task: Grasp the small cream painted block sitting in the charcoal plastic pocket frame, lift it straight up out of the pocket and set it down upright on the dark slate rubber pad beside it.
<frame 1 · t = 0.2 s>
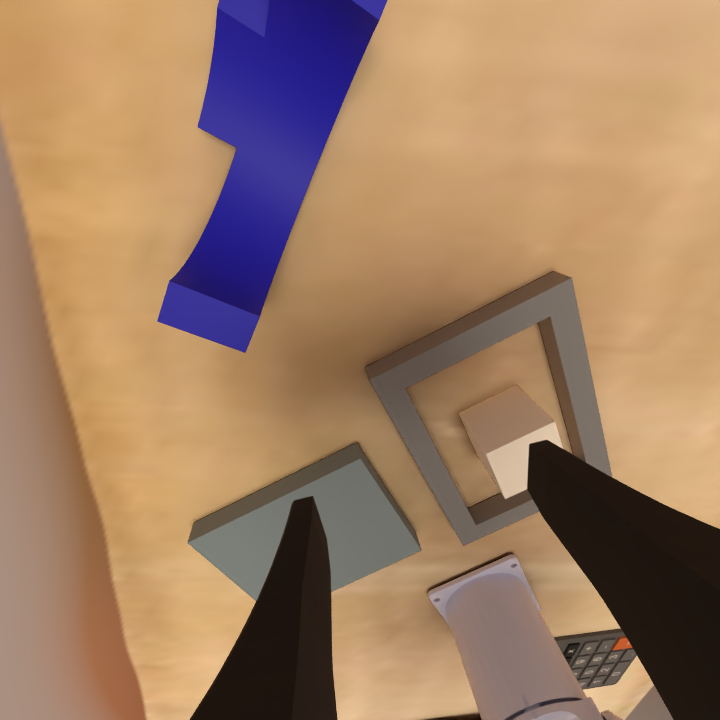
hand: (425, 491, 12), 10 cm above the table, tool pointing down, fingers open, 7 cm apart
slate pad: (312, 527, 26), on the table
calculator: (571, 656, 42), on the table
cream block: (495, 420, 24), resting in pocket frame
pocket frame: (496, 421, 24), on the table
cable clip: (259, 159, 16), on the table
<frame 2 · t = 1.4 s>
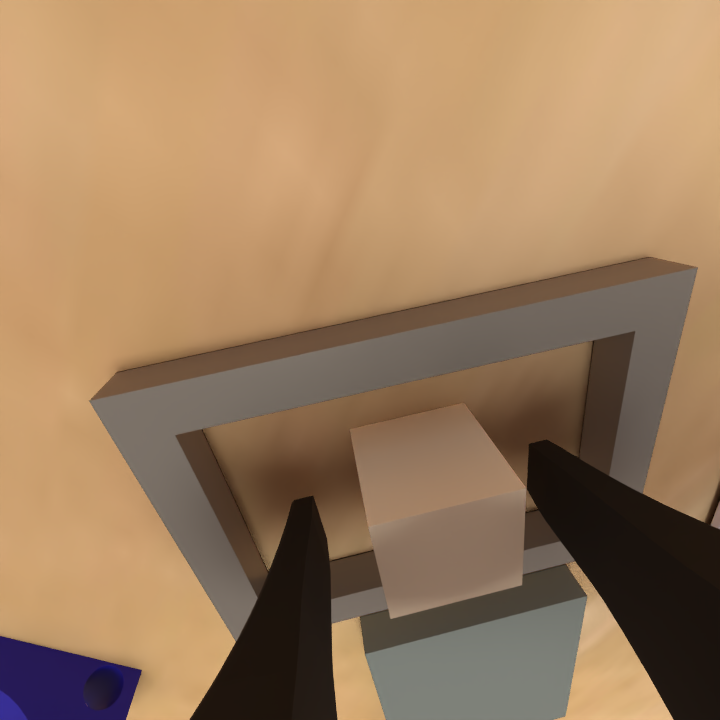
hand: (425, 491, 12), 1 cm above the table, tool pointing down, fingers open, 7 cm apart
slate pad: (469, 656, 20), on the table
cream block: (413, 458, 13), resting in pocket frame
pocket frame: (413, 461, 13), on the table
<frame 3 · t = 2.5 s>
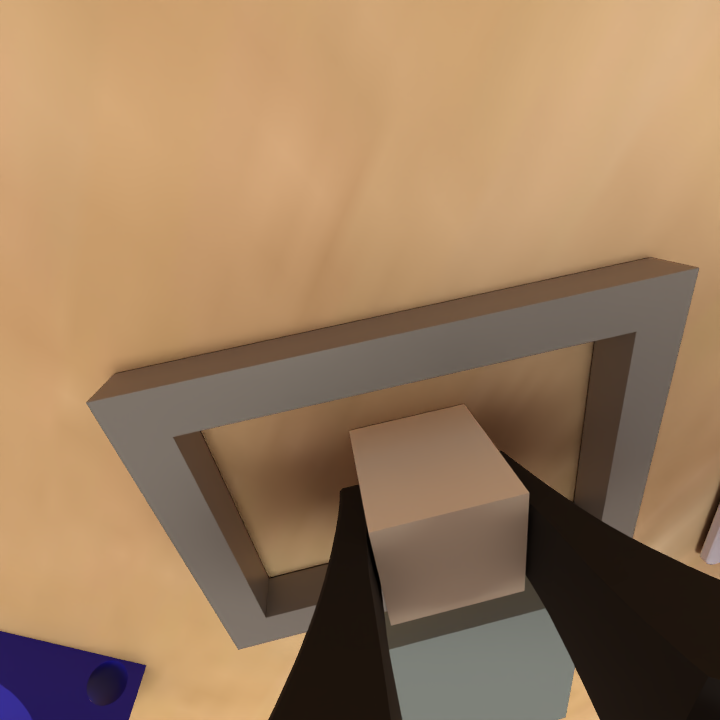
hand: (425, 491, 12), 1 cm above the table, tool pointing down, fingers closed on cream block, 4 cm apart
slate pad: (469, 657, 20), on the table
cream block: (413, 461, 13), resting in pocket frame, touching gripper
pocket frame: (413, 462, 13), on the table
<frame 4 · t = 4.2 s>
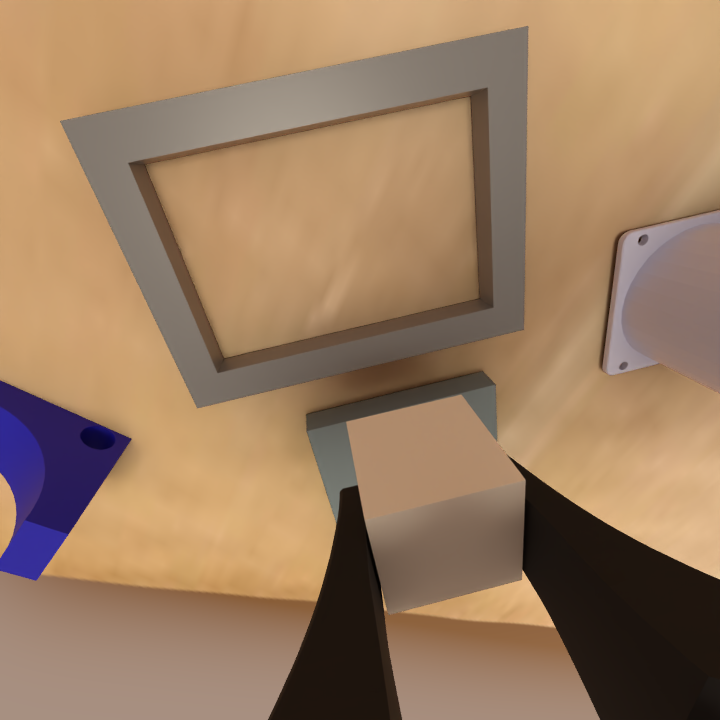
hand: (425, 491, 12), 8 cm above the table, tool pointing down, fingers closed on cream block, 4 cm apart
slate pad: (409, 472, 23), on the table
cream block: (410, 453, 13), point 7 cm above the table, touching gripper
pocket frame: (334, 240, 16), on the table
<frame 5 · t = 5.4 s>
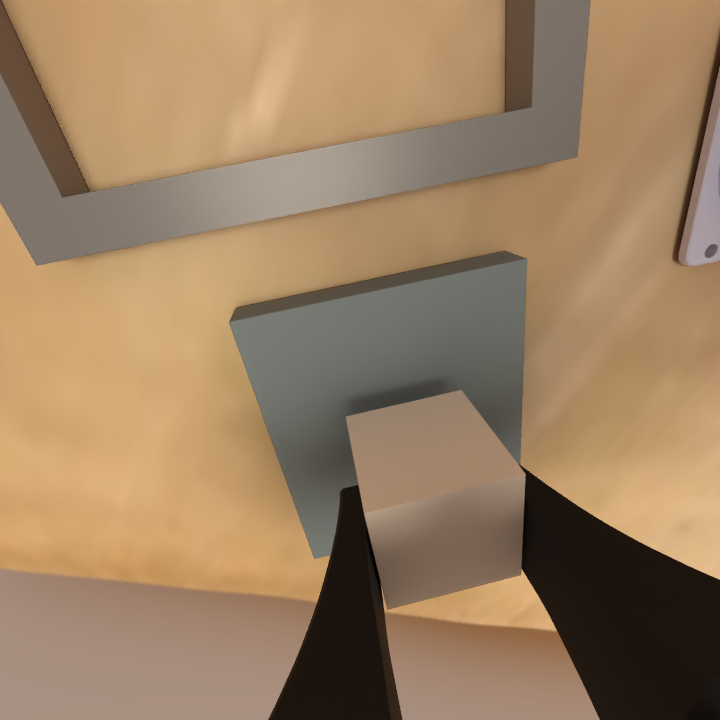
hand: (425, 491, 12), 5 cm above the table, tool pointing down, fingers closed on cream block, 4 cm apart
slate pad: (394, 412, 16), on the table
cream block: (410, 448, 13), point 3 cm above the table, touching gripper
when the fingers open (4 cm above the table, at t = 6.2 s): cream block drops 1 cm, resting on slate pad.
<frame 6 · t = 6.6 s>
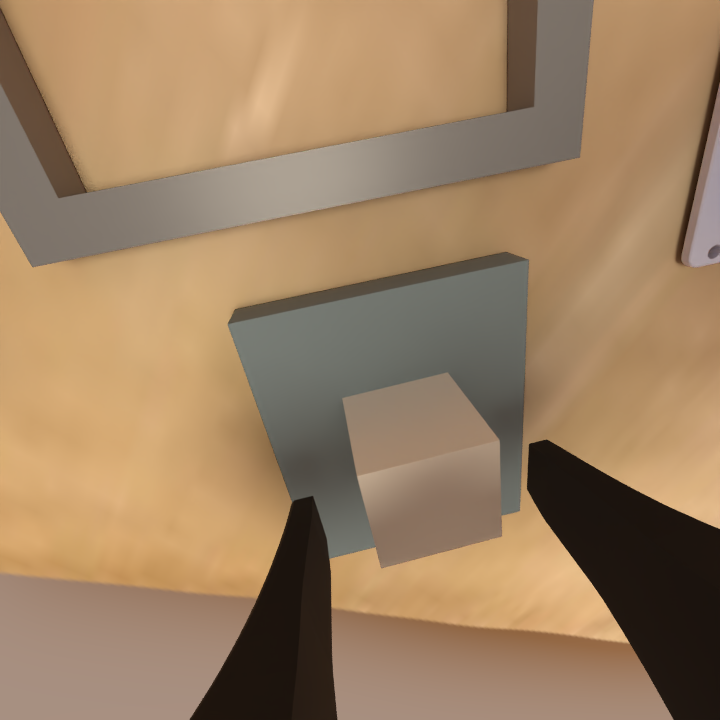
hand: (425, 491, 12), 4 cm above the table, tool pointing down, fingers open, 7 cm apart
slate pad: (394, 415, 16), on the table
cream block: (402, 428, 14), point 1 cm above the table, touching slate pad
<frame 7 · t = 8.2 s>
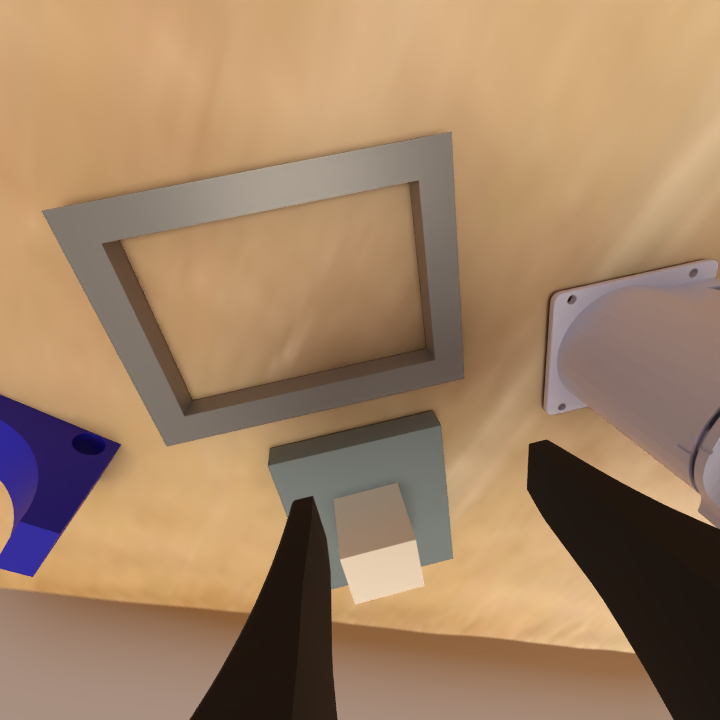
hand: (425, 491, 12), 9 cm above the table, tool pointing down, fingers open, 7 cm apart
slate pad: (368, 499, 25), on the table
cream block: (371, 513, 23), point 1 cm above the table, touching slate pad
pocket frame: (291, 300, 18), on the table
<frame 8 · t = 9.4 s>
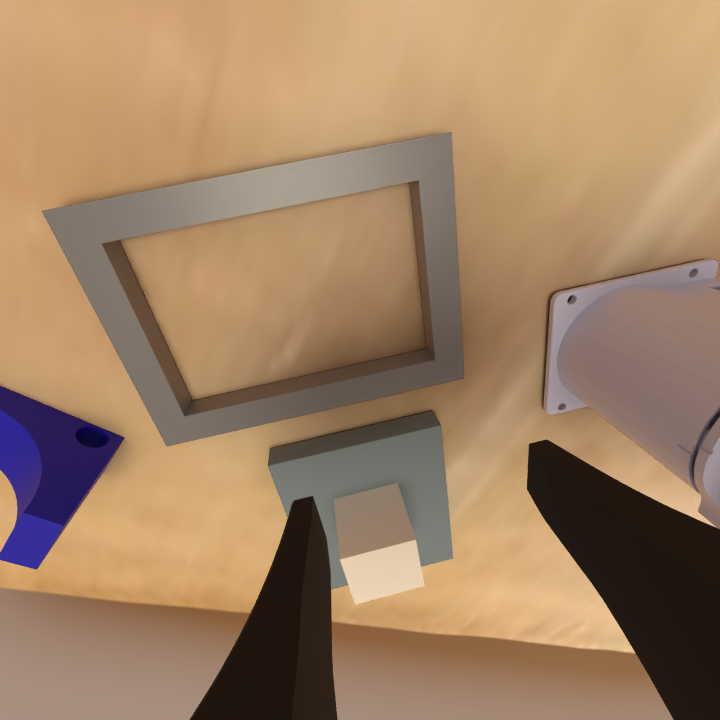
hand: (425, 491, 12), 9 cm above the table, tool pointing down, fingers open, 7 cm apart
slate pad: (368, 499, 25), on the table
cream block: (371, 513, 23), point 1 cm above the table, touching slate pad
pocket frame: (291, 300, 18), on the table
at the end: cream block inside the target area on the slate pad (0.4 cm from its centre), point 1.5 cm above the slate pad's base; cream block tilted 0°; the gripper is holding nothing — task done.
